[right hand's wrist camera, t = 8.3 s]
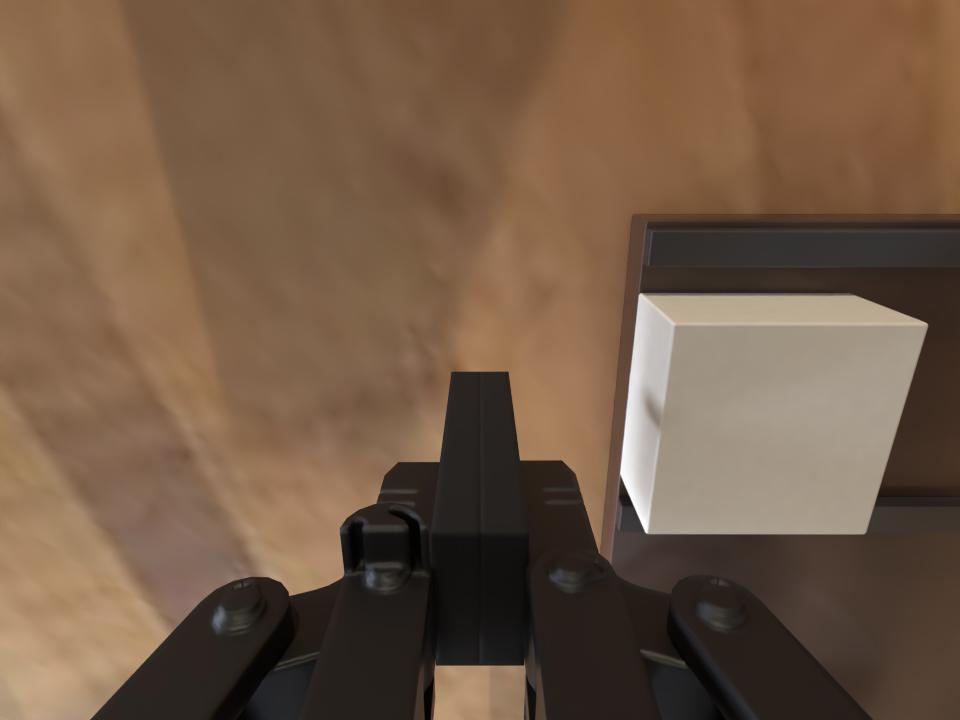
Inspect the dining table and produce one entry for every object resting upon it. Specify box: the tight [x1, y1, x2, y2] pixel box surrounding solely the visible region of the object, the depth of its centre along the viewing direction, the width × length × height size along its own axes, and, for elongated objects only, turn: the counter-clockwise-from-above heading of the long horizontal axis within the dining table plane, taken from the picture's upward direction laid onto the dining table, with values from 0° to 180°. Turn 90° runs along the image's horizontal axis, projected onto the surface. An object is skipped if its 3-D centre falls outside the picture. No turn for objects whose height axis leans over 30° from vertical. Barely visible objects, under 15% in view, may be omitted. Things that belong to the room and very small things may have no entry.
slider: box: [620, 293, 928, 534], centre depth 15 cm, size 6×6×3 cm
